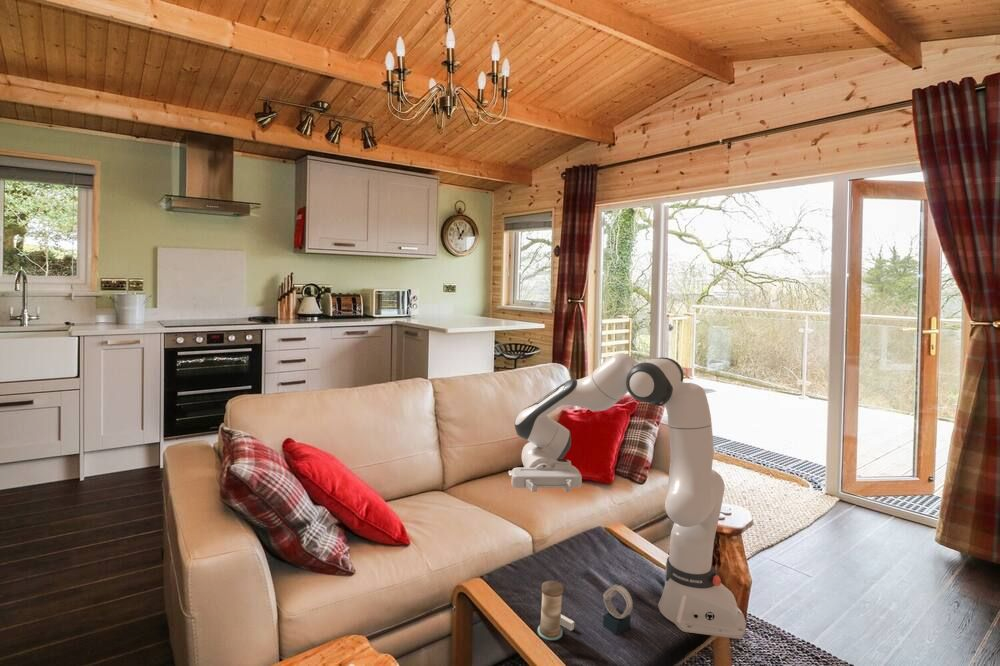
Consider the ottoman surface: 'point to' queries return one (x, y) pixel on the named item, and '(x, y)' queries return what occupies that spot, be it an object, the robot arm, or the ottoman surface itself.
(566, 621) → the rail
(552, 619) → the spool
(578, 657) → the ottoman surface
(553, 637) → the coaster
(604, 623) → the watch
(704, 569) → the robot arm
